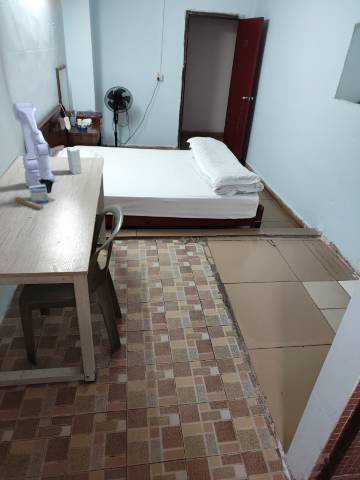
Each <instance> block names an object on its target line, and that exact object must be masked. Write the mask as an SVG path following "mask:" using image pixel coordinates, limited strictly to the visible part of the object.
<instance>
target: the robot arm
mask: <svg viewBox="0 0 360 480" xmlns="http://www.w3.org/2000/svg"><path fill="white" fill-rule="evenodd" d="M12 111H13V115H14V118H15V120H16V121H18V122H19V124H20V127H21V132H22V135H23V136H22V137H23V141H24V145H25V150H26V153H25V154H24V155H23V156H22V163H23V168H24V170H25V171H24V179H25V184H24V185H25V186H27V187H29V185H37V184H44V183H45V185H46V189H47V194H51V193H52V189H53V185H54V183H55V184H56V183H58V182H59V180H58V178H57V177H55V176H54V174H53V173H52V169H51V161H50V155H51V149H50V145H49V143H48V142H47V141H46V140H45V138H44V136H43V135H44V134H43V133H42V131H41V130H40V129H38V126H37V122H36V114H37V108H36V105H35V103H34V102H33V101H31V102H13V103H12Z"/></svg>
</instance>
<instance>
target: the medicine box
mask: <svg viewBox="0 0 360 480" xmlns="http://www.w3.org/2000/svg"><path fill="white" fill-rule="evenodd" d="M28 189H29V194H30V198H31V199H32V202H34V203H42V202H48V201H49V200H48V197H49V193H47V189H46V185H45V183H44V184H37V185H29V186H28Z"/></svg>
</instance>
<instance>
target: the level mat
mask: <svg viewBox="0 0 360 480" xmlns="http://www.w3.org/2000/svg"><path fill="white" fill-rule="evenodd" d="M48 200H49V201H48V202H42V203H34V202H32V199H31V197H30V198H27V199H25V198H22V197H19V196H18V197H17V196H16V197H15V198H14V201H15V202H17V203H20V204H23V205H25V206H28V207H31V208H34V209H37V210H40V211H42V210H43V209H44V206H46V205H48V204H50V203H52V202H54V201H56V199H54V198H51V197H49V196H48Z"/></svg>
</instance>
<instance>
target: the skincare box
mask: <svg viewBox="0 0 360 480" xmlns="http://www.w3.org/2000/svg"><path fill="white" fill-rule="evenodd" d="M66 154H67V162H68V169H69V172H70V173H72V174H73V175H78V174H79V175H80V174H83V169H82V162H81V161H82V160H81V154H80V149H79V148H77V147H66Z"/></svg>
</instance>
